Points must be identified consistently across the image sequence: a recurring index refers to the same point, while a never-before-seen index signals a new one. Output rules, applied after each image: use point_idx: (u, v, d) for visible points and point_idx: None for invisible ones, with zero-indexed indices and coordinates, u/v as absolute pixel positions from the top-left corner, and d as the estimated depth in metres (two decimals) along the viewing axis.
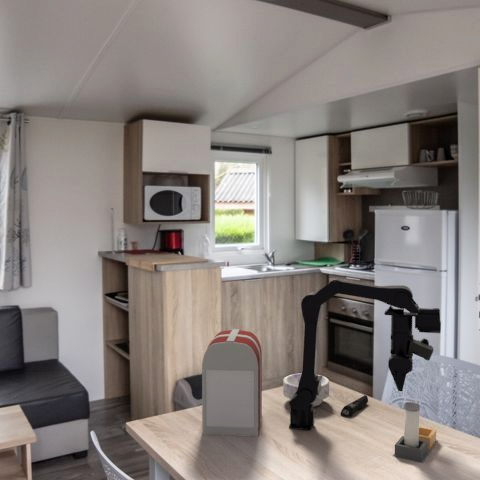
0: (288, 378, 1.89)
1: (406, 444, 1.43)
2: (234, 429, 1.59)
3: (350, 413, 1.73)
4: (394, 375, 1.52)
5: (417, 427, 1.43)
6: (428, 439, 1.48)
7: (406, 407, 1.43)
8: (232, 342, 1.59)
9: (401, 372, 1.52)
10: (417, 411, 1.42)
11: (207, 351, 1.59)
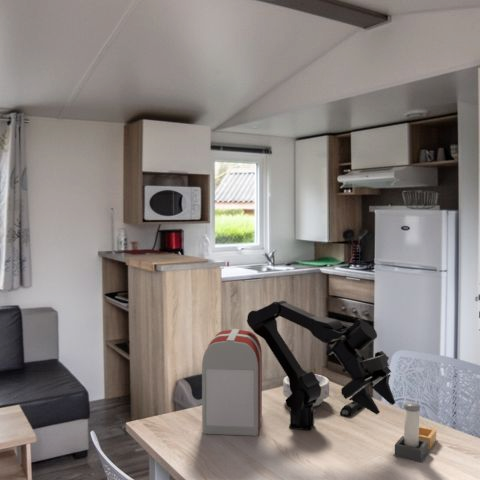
0: (288, 378, 1.89)
1: (406, 444, 1.43)
2: (234, 428, 1.59)
3: (349, 413, 1.73)
4: (360, 402, 1.46)
5: (417, 427, 1.43)
6: (428, 439, 1.48)
7: (406, 407, 1.43)
8: (232, 341, 1.59)
9: (363, 395, 1.46)
10: (417, 411, 1.42)
11: (207, 350, 1.59)
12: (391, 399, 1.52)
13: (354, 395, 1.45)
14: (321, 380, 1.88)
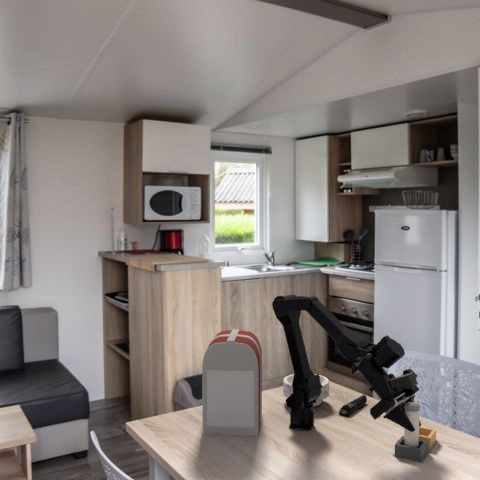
0: (288, 378, 1.89)
1: (406, 444, 1.43)
2: (235, 429, 1.59)
3: (348, 413, 1.74)
4: (394, 420, 1.43)
5: (417, 427, 1.43)
6: (428, 439, 1.48)
7: (406, 407, 1.43)
8: (232, 342, 1.59)
9: (398, 413, 1.43)
10: (417, 411, 1.42)
11: (207, 351, 1.59)
12: None
13: (388, 413, 1.42)
14: (321, 380, 1.88)
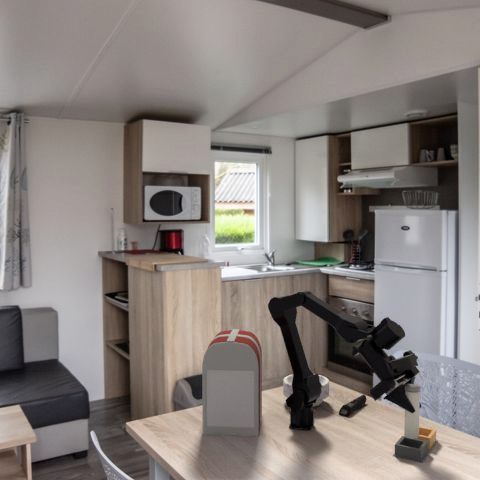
0: (288, 378, 1.89)
1: (406, 425, 1.43)
2: (235, 429, 1.59)
3: (348, 412, 1.74)
4: (395, 401, 1.43)
5: (417, 408, 1.42)
6: (428, 439, 1.48)
7: (407, 389, 1.43)
8: (232, 342, 1.59)
9: (398, 394, 1.43)
10: (418, 392, 1.42)
11: (207, 351, 1.59)
12: None
13: (388, 394, 1.42)
14: (321, 380, 1.88)
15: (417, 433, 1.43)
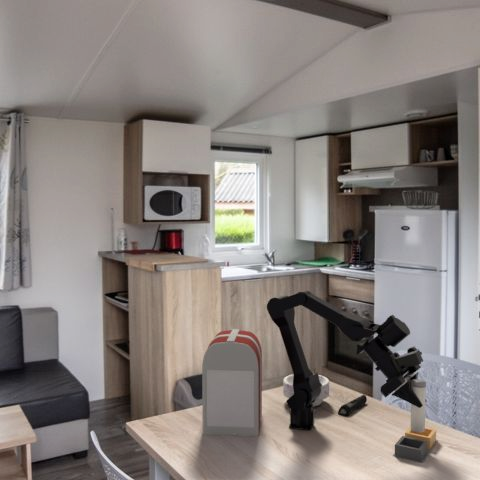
0: (288, 378, 1.89)
1: (413, 420, 1.47)
2: (235, 429, 1.59)
3: (347, 412, 1.74)
4: (403, 397, 1.46)
5: (424, 403, 1.46)
6: (428, 439, 1.48)
7: (414, 384, 1.46)
8: (232, 342, 1.59)
9: (406, 390, 1.46)
10: (424, 387, 1.46)
11: (207, 351, 1.59)
12: None
13: (397, 390, 1.45)
14: (321, 380, 1.88)
15: (423, 427, 1.47)
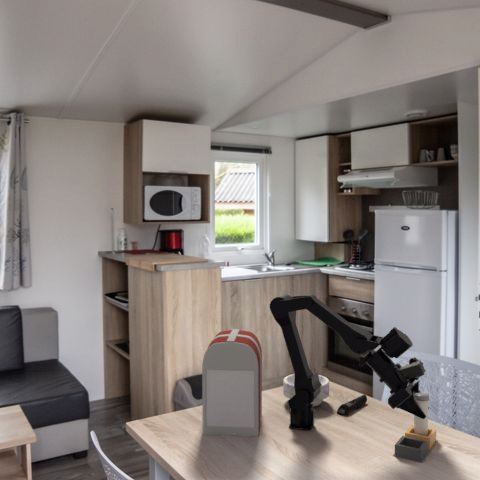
0: (288, 378, 1.89)
1: (417, 433, 1.51)
2: (235, 429, 1.59)
3: (346, 412, 1.74)
4: (407, 409, 1.48)
5: (427, 416, 1.50)
6: (428, 439, 1.48)
7: (418, 398, 1.50)
8: (232, 342, 1.59)
9: (410, 402, 1.48)
10: (427, 400, 1.50)
11: (207, 351, 1.59)
12: None
13: (402, 402, 1.47)
14: (321, 380, 1.88)
15: None
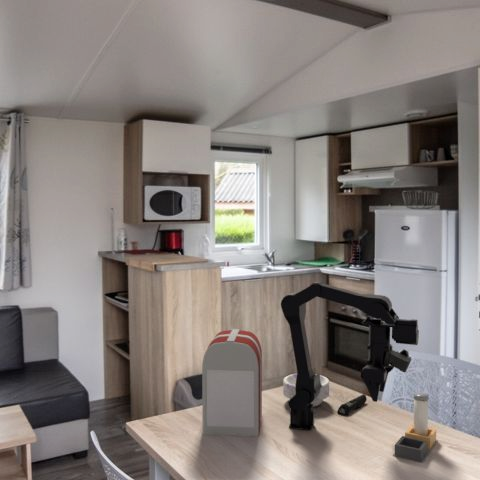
0: (288, 378, 1.89)
1: (417, 433, 1.51)
2: (235, 429, 1.59)
3: (347, 412, 1.75)
4: (368, 385, 1.52)
5: (427, 416, 1.50)
6: (428, 439, 1.48)
7: (417, 398, 1.50)
8: (232, 342, 1.59)
9: (375, 383, 1.51)
10: (427, 400, 1.50)
11: (207, 351, 1.59)
12: (382, 387, 1.61)
13: (370, 380, 1.50)
14: (321, 380, 1.88)
15: None
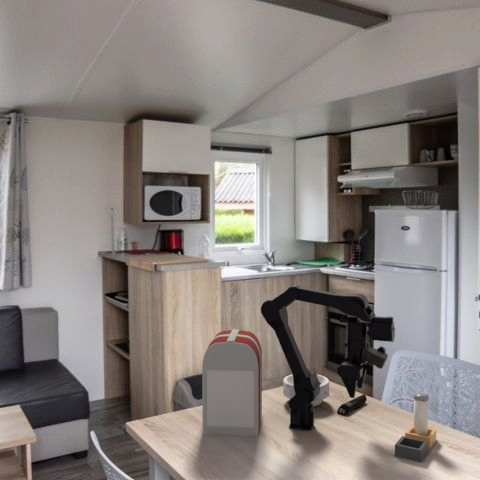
0: (288, 378, 1.89)
1: (417, 433, 1.51)
2: (235, 429, 1.59)
3: (346, 412, 1.75)
4: (345, 382, 1.54)
5: (427, 416, 1.50)
6: (428, 439, 1.48)
7: (417, 398, 1.50)
8: (232, 342, 1.59)
9: (352, 379, 1.54)
10: (427, 400, 1.50)
11: (207, 351, 1.59)
12: (360, 384, 1.63)
13: (347, 376, 1.52)
14: (321, 380, 1.88)
15: None
